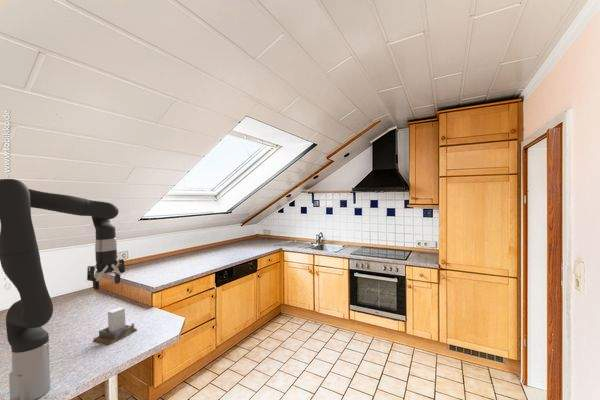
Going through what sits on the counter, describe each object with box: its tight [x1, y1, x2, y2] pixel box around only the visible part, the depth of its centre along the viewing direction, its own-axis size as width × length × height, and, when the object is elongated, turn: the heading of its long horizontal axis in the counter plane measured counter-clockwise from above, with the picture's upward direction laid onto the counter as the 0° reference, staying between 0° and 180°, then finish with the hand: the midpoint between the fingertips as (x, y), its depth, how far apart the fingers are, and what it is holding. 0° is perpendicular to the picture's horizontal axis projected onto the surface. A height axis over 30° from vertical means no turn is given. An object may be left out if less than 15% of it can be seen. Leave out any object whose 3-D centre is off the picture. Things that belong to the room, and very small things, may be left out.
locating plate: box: [93, 322, 138, 346], centre depth 134 cm, size 14×11×4 cm
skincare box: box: [107, 306, 127, 333], centre depth 134 cm, size 6×4×12 cm
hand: (107, 286), depth 116 cm, fingers open, 8 cm apart
